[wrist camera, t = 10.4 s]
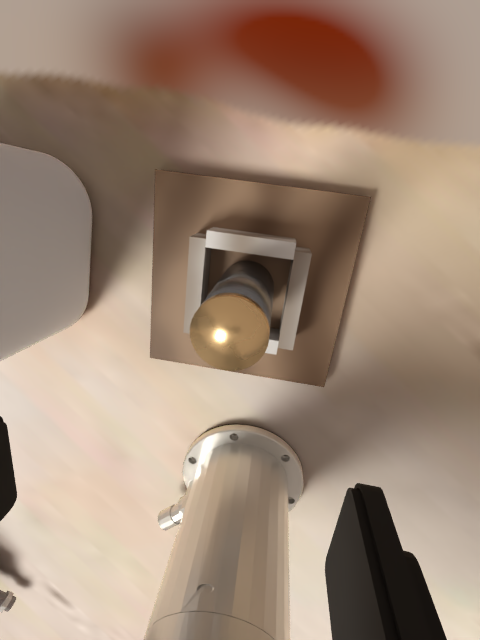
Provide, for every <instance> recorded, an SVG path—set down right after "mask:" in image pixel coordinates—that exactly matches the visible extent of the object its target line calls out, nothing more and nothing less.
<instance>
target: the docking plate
mask: <svg viewBox="0 0 480 640" xmlns="http://www.w3.org/2000/svg"><path fill="white" fill-rule="evenodd" d="M370 198H371V197H367V196H359V195H351V194H343V193H335V192H328V191H320V190H312V189H304V188H297V187H289V186H281V185H273V184H266V183H258V182H250V181H242V180H235V179H227V178H219V177H211V176H203V175H196V174H188V173H180V172H172V171H165V170H157V169H155V198H154V234H153V269H152V305H151V341H150V358H155V359H161V360H167V361H173V362H179V363H185V364H191V365H197V366H202V367H208V368H214V369H218V368H215V367H213V366H211V365H209V364H208V363H206V362H205V361H204V360H202V359H201V358H200V356H199V355H198V354H197V353H196V351H195V349H194V348H193V345H192V343H191V339H190V324H191V320H192V318H193V316H194V314H195V313H196V311H197V310H198V308H199V307H200V306H201V304H202V303H203V301H204V300H205V299H206V297H207V296H208V295H209V293H210V292H211V290H212V289H213V288H214V286H215V285H216V284H217V282H218V281H219V280H220V278H221V277H222V275H223V274H224V273H225V271H226V270H227V269H228V268H229V267H230V266H231V265H233V264H235V263H237V262H240V261H254V262H257V263H259V264H261V265H262V266H264V267H265V268H266V269H267V270H268V271H269V273H270V274H271V276H272V278H273V281H274V295H273V305H272V315H271V325H270V335H269V343H268V347H267V349H266V352H265V353H264V355H263V356H262V358H261V359H260V360H259V361H258V362H257V363H255V364H254V365H252V366H250V367H248V368H246V369H243V370H237V371H232V372H238V373H244V374H250V375H256V376H262V377H268V378H273V379H279V380H285V381H291V382H297V383H303V384H309V385H315V386H321V387H324V385H325V381H326V377H327V373H328V369H329V365H330V361H331V357H332V353H333V349H334V345H335V341H336V337H337V333H338V329H339V324H340V320H341V316H342V312H343V308H344V304H345V300H346V296H347V292H348V288H349V284H350V280H351V276H352V272H353V268H354V263H355V259H356V255H357V251H358V247H359V243H360V239H361V235H362V231H363V227H364V223H365V219H366V215H367V211H368V207H369V202H370ZM220 370H221V369H220Z"/></svg>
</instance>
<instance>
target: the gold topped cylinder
mask: <svg viewBox="0 0 480 640" xmlns="http://www.w3.org/2000/svg"><path fill="white" fill-rule="evenodd" d="M273 295H274V281H273V278H272V276H271V274H270V273H269V271H268V270H267V269H266V268H265V267H264V266H262V265H261V264H259V263H257V262H254V261H240V262H237V263H235V264H233V265H231V266H230V267H229V268H228V269H227V270H226V271H225V273H224V274H223V275H222V277H221V278H220V280H219V281H218V282H217V284H216V285H215V286H214V288H213V289H212V290H211V292H210V293H209V295H208V296H207V297H206V299H205V300H204V301H203V303H202V304H201V306H200V307H199V308H198V310H197V311H196V313H195V314H194V316H193V318H192V320H191V324H190V339H191V343H192V345H193V348H194V349H195V351H196V353H197V354H198V355H199V356H200V358H201V359H202V360H204V361H205V362H206V363H208V364H209V365H211V366H213V367H215V368H218V369H221V370H226V371H237V370H243V369H246V368H248V367H250V366H252V365H254V364H255V363H257V362H258V361H259V360H260V359H261V358H262V356H263V355H264V353H265V352H266V349H267V347H268V343H269V335H270V325H271V315H272V305H273Z"/></svg>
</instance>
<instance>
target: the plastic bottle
mask: <svg viewBox="0 0 480 640" xmlns="http://www.w3.org/2000/svg"><path fill="white" fill-rule="evenodd" d="M91 236H92V208H91V203H90V199H89V196H88V194H87V191H86V189H85V187H84V186H83V184H82V182H81V181H80V179H79V178H78V177H77V175H76V174H75V173H74V172H73V171H72V170H71V169H70V168H69V167H68V166H67V165H65V164H64V163H63V162H61V161H60V160H58V159H57V158H55V157H53V156H51V155H48V154H46V153H42V152H38V151H34V150H30V149H25V148H21V147H17V146H12V145H8V144H4V143H0V361H2V360H4V359H6V358H8V357H10V356H12V355H14V354H16V353H18V352H20V351H22V350H24V349H26V348H28V347H30V346H32V345H34V344H36V343H38V342H40V341H42V340H44V339H46V338H48V337H50V336H52V335H54V334H56V333H58V332H60V331H62V330H65V329H67V328H68V327H70V326H72V325H73V324H74V323H76V322H77V321H78V320H79V319H80V317H81V316H82V315H83V313H84V311H85V309H86V306H87V303H88V297H89V278H90V257H91Z"/></svg>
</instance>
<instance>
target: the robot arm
mask: <svg viewBox="0 0 480 640" xmlns="http://www.w3.org/2000/svg"><path fill="white" fill-rule="evenodd" d="M183 479H184V483H185V486H186V488H187V491H186V494H185V496H183V497H181V498H180V500H179V502H178V504H176V505H172V506H170V507H168V508H166V509H164V510H162V511H161V512H160V513H159V515H158V523H159V526H160V527H161V528H162V529H163V530H168V529H170V528H172V527H174V526H176V525H178V524H180V525H179V529H178V532H177V535H176V538H175V541H174V544H173V548H172V551H171V554H170V557H169V560H168V564H167V567H166V570H165V573H164V576H163V579H162V583H161V586H160V589H159V592H158V595H157V599H156V602H155V605H154V608H153V611H152V614H151V618H150V621H149V624H148V627H147V630H146V633H145V637H144V640H290V596H289V520H288V512H289V511H290V510H292V509H293V508H294V506H295V505H296V504H297V502H298V501H299V499H300V497H301V494H302V491H303V484H304V482H303V471H302V466H301V463H300V461H299V459H298V457H297V455H296V453H295V452H294V451H293V449H292V448H291V447H290V446H289V445H288V444H287V443H286V442H285V441H284V440H282V439H281V438H280V437H278V436H276V435H275V434H273V433H271V432H269V431H266V430H264V429H262V428H258V427H254V426H250V425H238V424H236V425H225V426H221V427H217V428H214V429H212V430H209V431H207V432H205V433H204V434H202V435H201V436H200V437H198V438H197V439H196V440H195V441H194V443H193V444H192V445H191V446H190V448H189V450H188V452H187V454H186V457H185V460H184V463H183ZM16 498H17V491H16V484H15V477H14V470H13V464H12V457H11V450H10V443H9V436H8V430H7V425H6V423H4V422H3V419H2V417H1V416H0V521H1V520H2V519H3V518H4V517H5V515H6V514H7V513H8V512H9V511H10V510H11V508H12V507H13V505H14V503H15V501H16ZM325 576H326V585H327V594H328V603H329V612H330V621H331V631H332V640H447V639H446V636H445V633H444V631H443V628H442V625H441V622H440V620H439V617H438V614H437V611H436V609H435V606H434V603H433V601H432V598H431V595H430V592H429V590H428V587H427V584H426V582H425V579H424V576H423V573H422V571H421V568H420V565H419V563H418V561H417V559H416V557H415V556H414V555H413V554H412V553H410V552H407V551H403V549H402V546H401V544H400V541H399V538H398V535H397V532H396V529H395V526H394V523H393V520H392V517H391V514H390V511H389V508H388V505H387V502H386V499H385V496H384V493H383V491H382V489H381V488H380V487H375V486H370V485H365V484H360V483H357V484H356V485H355V488H354V489H353V488H348V490H347V492H346V496H345V499H344V502H343V505H342V508H341V512H340V515H339V518H338V521H337V525H336V528H335V531H334V534H333V537H332V541H331V544H330V547H329V550H328V554H327V557H326V563H325Z"/></svg>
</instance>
